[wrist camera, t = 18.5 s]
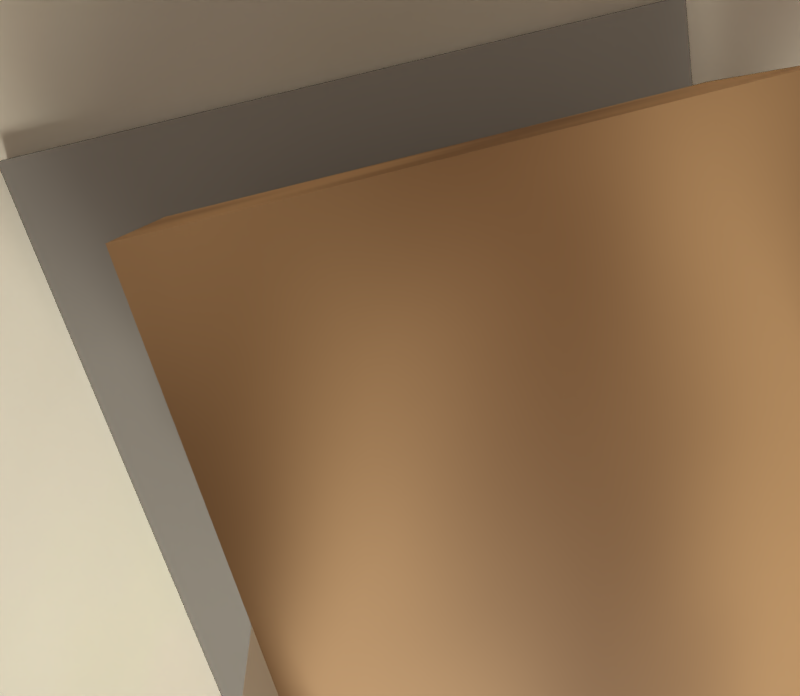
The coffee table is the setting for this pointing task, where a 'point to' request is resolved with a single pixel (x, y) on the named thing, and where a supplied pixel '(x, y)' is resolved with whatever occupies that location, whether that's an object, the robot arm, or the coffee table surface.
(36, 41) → the coffee table surface
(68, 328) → the mat
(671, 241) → the lid
